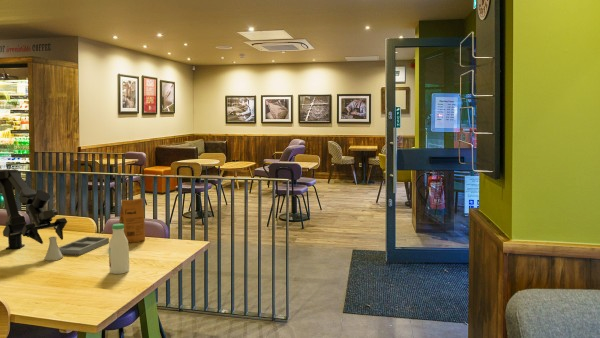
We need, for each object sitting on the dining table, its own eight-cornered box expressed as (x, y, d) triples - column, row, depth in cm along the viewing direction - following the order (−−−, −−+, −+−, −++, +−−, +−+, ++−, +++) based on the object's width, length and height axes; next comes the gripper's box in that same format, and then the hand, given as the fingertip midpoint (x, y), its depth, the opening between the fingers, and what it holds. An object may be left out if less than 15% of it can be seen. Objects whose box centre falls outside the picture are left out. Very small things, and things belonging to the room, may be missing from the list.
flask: (55, 261, 213) (54, 239, 212) (41, 260, 214) (39, 238, 213) (66, 257, 220) (65, 235, 219) (52, 256, 221) (51, 235, 220)
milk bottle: (133, 269, 202) (131, 223, 200) (120, 275, 195) (119, 227, 193) (118, 267, 205) (116, 221, 203) (105, 273, 198) (103, 225, 195)
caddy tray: (55, 253, 225) (55, 248, 225) (87, 241, 248) (86, 236, 248) (79, 255, 223) (79, 250, 222) (109, 242, 246) (108, 237, 246)
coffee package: (118, 240, 251) (116, 198, 249) (142, 237, 258) (141, 196, 255) (121, 244, 243) (120, 201, 241) (146, 241, 249) (145, 199, 247)
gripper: (23, 206, 210) (37, 234, 205) (64, 200, 225) (78, 226, 220) (15, 222, 215) (29, 249, 210) (55, 215, 231) (69, 241, 226)
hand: (52, 241), depth 216 cm, fingers open, 9 cm apart
